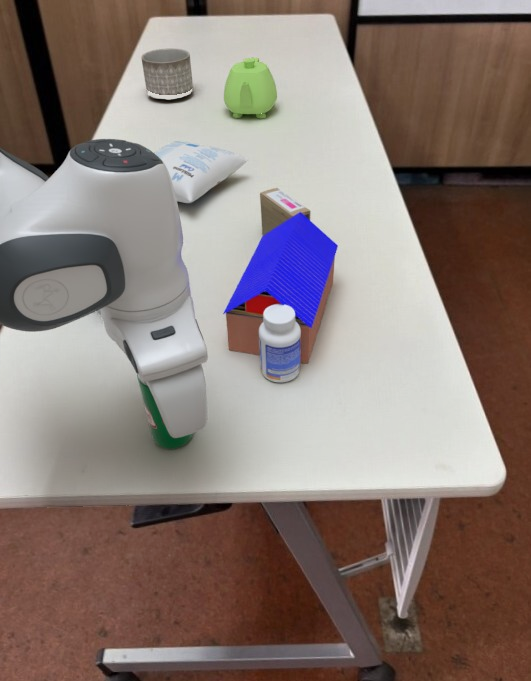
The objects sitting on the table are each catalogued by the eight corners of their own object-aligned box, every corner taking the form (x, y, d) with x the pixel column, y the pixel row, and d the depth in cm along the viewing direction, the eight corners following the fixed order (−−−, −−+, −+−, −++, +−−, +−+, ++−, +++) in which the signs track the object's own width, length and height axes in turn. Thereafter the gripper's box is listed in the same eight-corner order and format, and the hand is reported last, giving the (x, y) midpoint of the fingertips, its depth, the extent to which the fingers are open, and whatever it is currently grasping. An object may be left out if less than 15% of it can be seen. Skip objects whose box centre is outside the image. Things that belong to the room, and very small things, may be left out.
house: (226, 351, 80) (219, 283, 72) (263, 270, 94) (261, 207, 87) (309, 365, 78) (312, 297, 70) (335, 280, 92) (340, 216, 84)
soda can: (153, 420, 71) (137, 350, 63) (194, 417, 71) (183, 346, 63) (151, 453, 67) (133, 383, 59) (194, 450, 68) (182, 379, 60)
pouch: (173, 125, 122) (108, 157, 109) (249, 145, 114) (189, 182, 101) (176, 160, 127) (114, 195, 114) (249, 182, 120) (192, 222, 107)
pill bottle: (308, 371, 77) (310, 315, 70) (276, 390, 74) (276, 333, 68) (283, 350, 80) (283, 294, 74) (252, 367, 78) (249, 310, 71)
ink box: (310, 254, 98) (312, 210, 92) (292, 261, 96) (292, 217, 91) (278, 228, 104) (277, 185, 99) (260, 234, 103) (259, 191, 97)
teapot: (271, 127, 139) (271, 73, 131) (217, 126, 141) (213, 72, 132) (281, 98, 154) (281, 48, 145) (232, 97, 155) (229, 47, 147)
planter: (198, 88, 161) (194, 48, 154) (187, 104, 152) (183, 63, 145) (154, 87, 163) (149, 48, 156) (141, 103, 153) (135, 62, 147)
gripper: (92, 261, 62) (117, 353, 71) (144, 383, 48) (166, 478, 57) (148, 246, 64) (165, 338, 73) (214, 360, 50) (225, 456, 59)
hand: (166, 401), depth 65 cm, fingers closed on soda can, 5 cm apart
